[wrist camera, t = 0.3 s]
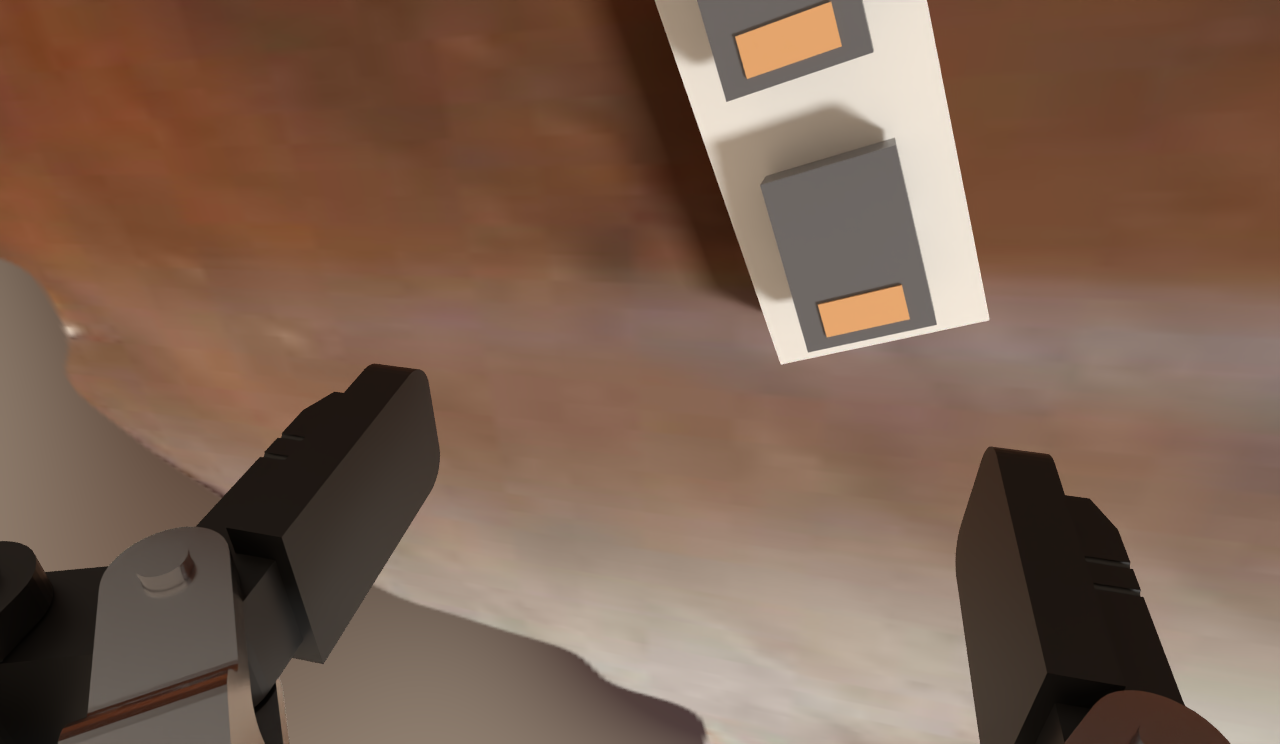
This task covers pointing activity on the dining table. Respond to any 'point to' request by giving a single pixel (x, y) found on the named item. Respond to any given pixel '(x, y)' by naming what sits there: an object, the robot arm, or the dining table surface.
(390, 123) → the dining table surface
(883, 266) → the block
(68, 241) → the dining table surface
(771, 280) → the power strip
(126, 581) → the robot arm
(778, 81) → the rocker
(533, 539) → the dining table surface
